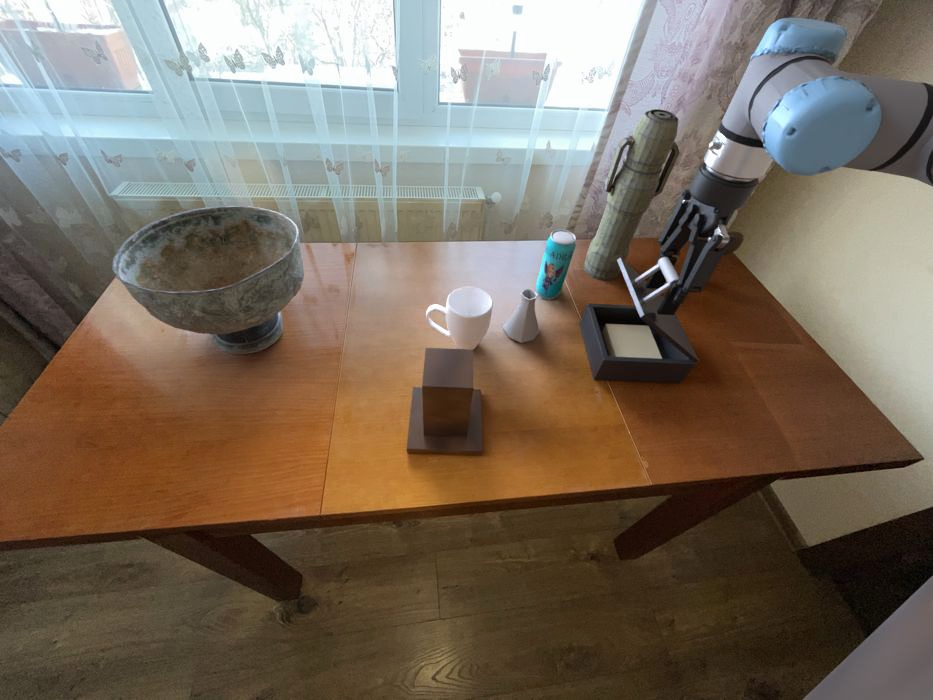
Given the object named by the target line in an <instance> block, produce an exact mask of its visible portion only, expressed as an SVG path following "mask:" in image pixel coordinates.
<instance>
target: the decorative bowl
mask: <svg viewBox="0 0 933 700" xmlns="http://www.w3.org/2000/svg"><path fill="white" fill-rule="evenodd" d="M111 267H112V268H111V269H112V271H113V273H114V277H115V278H116V279H117V280H118V281H119V282H121V284H122V285H123V286H124V288H125V289H126V290H127V291H128V293H129V294H130V296H131V297H132V298H133V299H134V300H135V301H136V302H137V303H138V304H139V305H141V306H142V307H143V308H144V309H145V310H147V313H149V314H150V316H152V317H153V318H155V319H157V320H158V321H160V322H162V323H164V324H166V325H168V326H170V327H173V328H174V329H178V330H181V331H187V332H192V333H196V334H204V335H205V334H206V335H211V336H212V339H213V341H214V343H215V345H216V347H218V348H219V349H220V350H222V351H223V352H226V353H230V354H233V355H246V354H253V353H257V352H260V351H264V350H265V349H267V348H268V347H270V346H272V345H274V344H275V343H276V342H277V341H278V340H279V339H280V338H281V336H283V333H284V321H283V315H282V313H281V311H283V309H284V308H285V307H286V306H288V304H289V303H290V302H291V300H292V299H294V298H295V297H296V296H297V294H298V293H299V291H300V290H301V288H302V285H303V282H304V278H305V269H304V260H303V257H302V249H301V241H300V231H299V228H298V226H297V224H296V223H295V221H293V220H292V219H291V218H290V217H288V216H287V215H285V214H282V213H280V212H277V211H274V210H271V209H267V208H263V207H256V206H251V205H217V206H209V207H208V206H207V207H202V208H201V207H200V208H193V209H189V210H186V211H181V212H177V213H174V214H171V215H168V216H166V217H163V218H160V219H157V220H155V221H153V222H151V223H149V224H147V225H146V226H144V227H141V228H140V230H138V231H136V232H134V234H133V235H131V236H129V237H128V238H127V239H126V240H125V241H124V242H123V243H122V244H121V245H120V247H119V248H118V250H117V251H116V253H115V254H114V256H113V259H112V266H111Z"/></svg>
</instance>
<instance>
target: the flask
mask: <svg viewBox="0 0 933 700" xmlns="http://www.w3.org/2000/svg"><path fill="white" fill-rule="evenodd" d="M519 295H520V301H519V303H518V305H517V307H516V308H515V310H514V312H513V313H512V314H511V315H510V317H509V318H508V320H506V322H505V324H503V326H502V329H503V330H504V332H505V334H506V336H507V337H508V338H510V339H512V340H514V341H516V342H518V343H521V344H522V343H526V342H530V341H534V340H535V338H536V337H537V335H538V334H539V332H540V328H539V324H538V320H537V313H536V300H537V299H538V297H539V295H538V293H537V290H536V289H532V288H530V287H529V288H524V289H523V290H521V292H520V294H519Z"/></svg>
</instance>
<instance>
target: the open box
mask: <svg viewBox="0 0 933 700" xmlns="http://www.w3.org/2000/svg"><path fill="white" fill-rule="evenodd" d="M578 324H579V325H578V326H579V328H580V332H581V336H582V340H583V345H584V347H585V352H586V356H587V359H588V363H589V367H590V371H591V375H592V378H593V381H606V382H607V381H609V382H610V381H612V382H632V383H633V382H634V383H659V384H681V383H682V382H683V381H684V379H685V378H686V377H687V376H688V375H689V374H690V372H691V371H692V370H693V368H694V367H695V366H696V364H697V363H694V362H693V361H692V360H690V359H689V358H688V357H687V356H686V355H684V354H683V353H682V352H681V351H680V350H678V349H677V348H676V347H675V346H674V345H672V344H671V343H670V342H669V341H668V340H666V339H665V338H664V337H663V336H662V335H660V334H659V333H658V332H657V331H656V330H654V329H653V328H652V327H651V326H650V325H648V324H647V323H646V322H645V321H644V320H642V319H641V318H640V316H639V314H638V311H637V309H636V306H635V305H632V304H631V305H630V304H629V305H627V304H609V303H589V302H588V303H586V306H585V309H584V311H583V313H582V315H581V319H580V320H579V323H578ZM605 324H622V325H643V326H649V328H650V330H651V333H652V335H653V337H654V340H655V342H656V345H657V347H658V350H659V352H660V354H661V357H662V359H659V358H636V357H613V356H609V353H608V350H607V347H606V343H605V340H604V337H603V333H602V331H603V328H604V326H605Z"/></svg>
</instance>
